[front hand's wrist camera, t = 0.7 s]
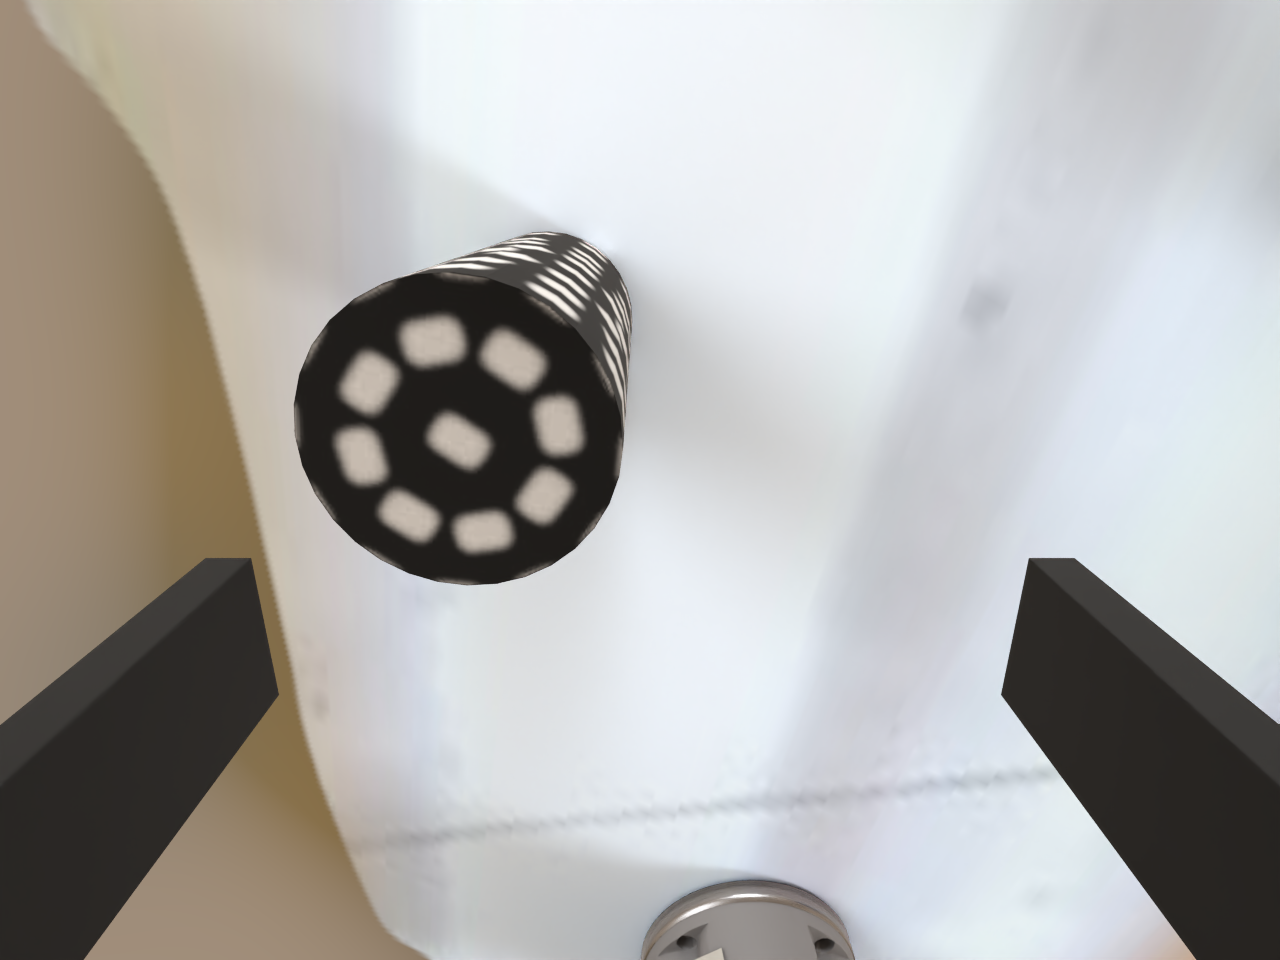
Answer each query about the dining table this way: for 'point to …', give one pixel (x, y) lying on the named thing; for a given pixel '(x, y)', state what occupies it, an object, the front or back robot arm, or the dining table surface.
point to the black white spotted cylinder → (472, 410)
